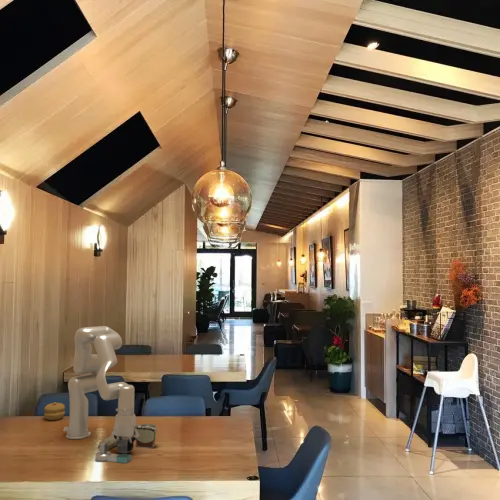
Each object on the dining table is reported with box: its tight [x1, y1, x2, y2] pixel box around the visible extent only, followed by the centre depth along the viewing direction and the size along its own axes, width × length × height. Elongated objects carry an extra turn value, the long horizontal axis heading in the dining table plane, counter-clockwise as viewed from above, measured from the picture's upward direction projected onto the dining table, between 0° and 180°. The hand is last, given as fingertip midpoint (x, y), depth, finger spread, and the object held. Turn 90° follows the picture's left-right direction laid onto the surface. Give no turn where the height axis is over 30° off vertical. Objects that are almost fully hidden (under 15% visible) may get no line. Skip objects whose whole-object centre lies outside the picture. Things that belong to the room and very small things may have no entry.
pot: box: [43, 401, 66, 421], centre depth 303 cm, size 12×12×10 cm
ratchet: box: [94, 443, 132, 464], centre depth 233 cm, size 16×7×7 cm, turn 75°
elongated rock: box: [97, 434, 117, 451], centre depth 263 cm, size 35×5×10 cm
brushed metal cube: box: [116, 437, 130, 454], centre depth 243 cm, size 5×5×6 cm
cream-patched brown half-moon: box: [134, 423, 158, 450], centre depth 254 cm, size 12×6×10 cm, turn 71°
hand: (124, 449), depth 243 cm, fingers closed on brushed metal cube, 5 cm apart
